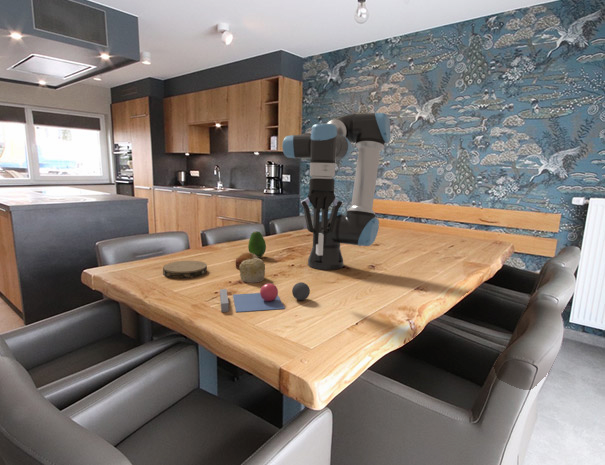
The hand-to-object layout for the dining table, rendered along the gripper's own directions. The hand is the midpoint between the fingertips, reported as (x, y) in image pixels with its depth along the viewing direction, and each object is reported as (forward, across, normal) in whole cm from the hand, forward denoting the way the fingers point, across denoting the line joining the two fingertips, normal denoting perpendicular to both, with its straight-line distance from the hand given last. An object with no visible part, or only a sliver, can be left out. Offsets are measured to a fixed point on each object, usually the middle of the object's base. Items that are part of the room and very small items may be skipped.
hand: (319, 254), depth 110 cm
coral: (+15, -18, +23) cm, 33 cm away
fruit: (+15, -12, +55) cm, 58 cm away
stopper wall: (+14, -29, 0) cm, 32 cm away
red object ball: (+11, -16, 0) cm, 19 cm away
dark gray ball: (+12, -6, -1) cm, 13 cm away
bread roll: (+15, -18, +39) cm, 45 cm away
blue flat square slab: (+14, -19, 0) cm, 24 cm away
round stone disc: (+15, -42, +35) cm, 57 cm away
